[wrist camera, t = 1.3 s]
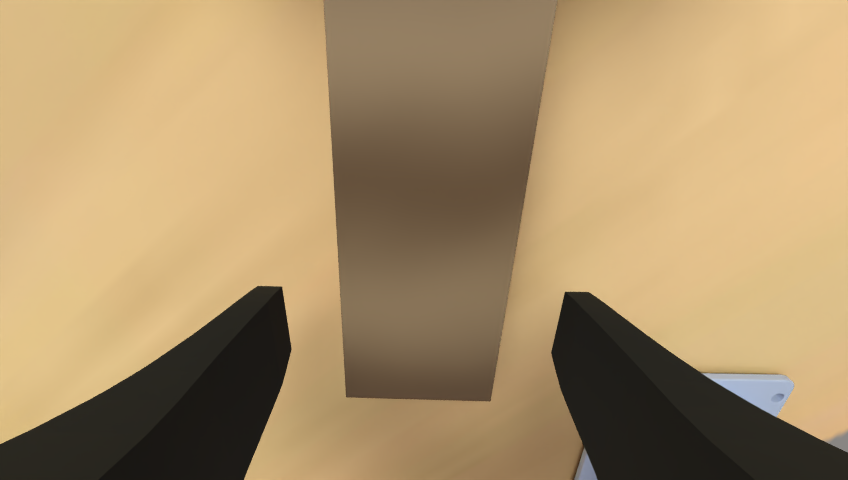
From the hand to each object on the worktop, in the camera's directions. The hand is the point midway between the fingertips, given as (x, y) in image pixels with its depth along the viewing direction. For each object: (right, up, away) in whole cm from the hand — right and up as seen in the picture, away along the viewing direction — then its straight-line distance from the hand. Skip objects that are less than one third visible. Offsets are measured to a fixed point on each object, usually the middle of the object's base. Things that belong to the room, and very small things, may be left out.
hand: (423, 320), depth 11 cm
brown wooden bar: (0, +5, +3) cm, 6 cm away
